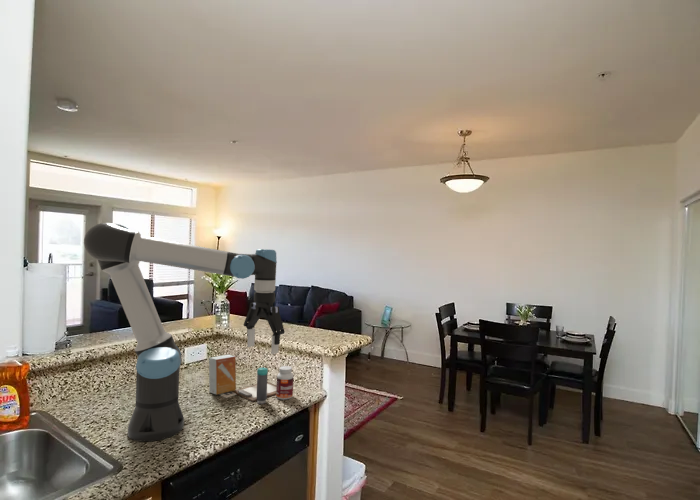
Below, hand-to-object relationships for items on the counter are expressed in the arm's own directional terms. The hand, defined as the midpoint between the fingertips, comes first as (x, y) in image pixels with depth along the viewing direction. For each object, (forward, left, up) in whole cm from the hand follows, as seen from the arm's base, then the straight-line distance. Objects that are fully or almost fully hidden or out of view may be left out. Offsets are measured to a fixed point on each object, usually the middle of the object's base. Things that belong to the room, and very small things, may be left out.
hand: (262, 349), depth 143 cm
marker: (0, -1, -19) cm, 19 cm away
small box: (-5, +17, -19) cm, 26 cm away
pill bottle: (+9, -3, -19) cm, 21 cm away
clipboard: (+6, +8, -19) cm, 21 cm away
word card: (-3, +14, -19) cm, 24 cm away
